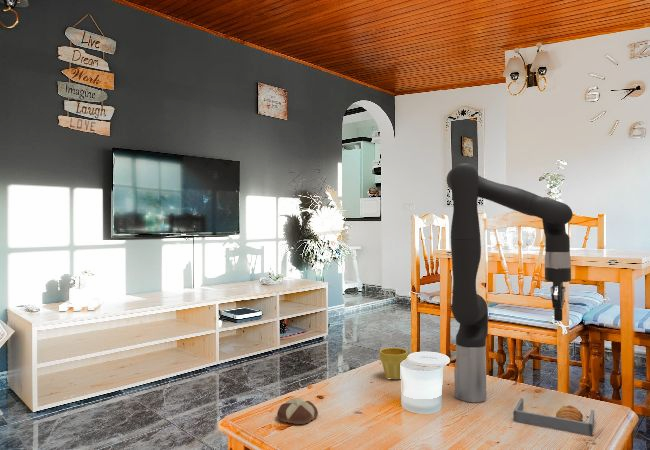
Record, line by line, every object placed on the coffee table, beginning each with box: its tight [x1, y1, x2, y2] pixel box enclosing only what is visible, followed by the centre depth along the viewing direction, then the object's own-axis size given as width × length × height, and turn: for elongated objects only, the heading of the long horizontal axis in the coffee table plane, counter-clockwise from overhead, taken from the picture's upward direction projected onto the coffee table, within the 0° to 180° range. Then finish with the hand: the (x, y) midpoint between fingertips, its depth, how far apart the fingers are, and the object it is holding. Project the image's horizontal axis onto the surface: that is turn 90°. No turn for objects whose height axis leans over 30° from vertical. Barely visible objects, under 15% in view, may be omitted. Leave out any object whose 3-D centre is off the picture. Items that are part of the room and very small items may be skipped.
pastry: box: [555, 405, 584, 422], centre depth 136 cm, size 9×7×4 cm
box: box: [512, 398, 595, 437], centre depth 138 cm, size 20×11×3 cm, turn 58°
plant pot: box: [379, 347, 409, 380], centre depth 178 cm, size 10×10×10 cm
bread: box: [276, 397, 319, 425], centre depth 143 cm, size 11×11×5 cm
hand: (558, 320), depth 154 cm, fingers closed
